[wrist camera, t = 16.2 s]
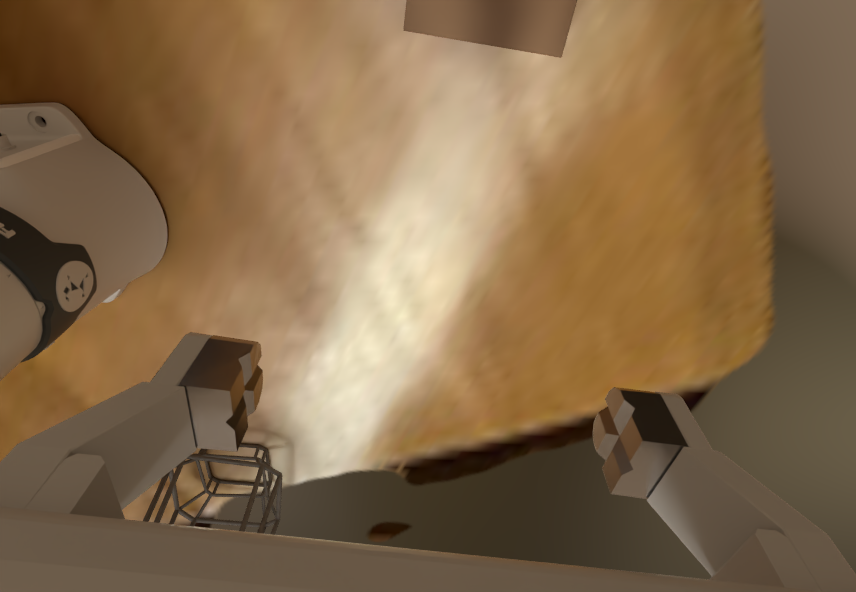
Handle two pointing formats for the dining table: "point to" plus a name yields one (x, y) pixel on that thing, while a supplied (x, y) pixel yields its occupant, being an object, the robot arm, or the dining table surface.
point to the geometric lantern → (229, 460)
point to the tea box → (495, 22)
